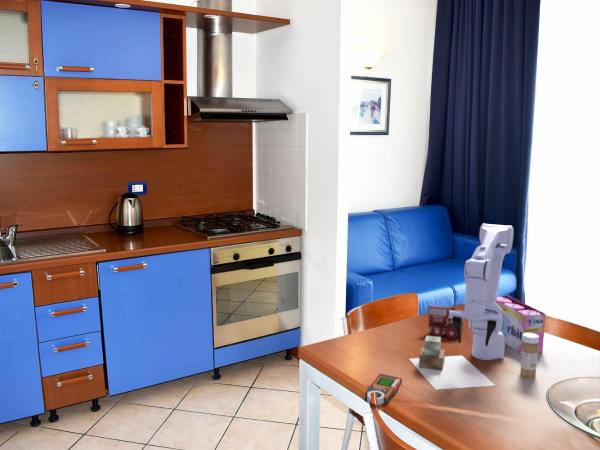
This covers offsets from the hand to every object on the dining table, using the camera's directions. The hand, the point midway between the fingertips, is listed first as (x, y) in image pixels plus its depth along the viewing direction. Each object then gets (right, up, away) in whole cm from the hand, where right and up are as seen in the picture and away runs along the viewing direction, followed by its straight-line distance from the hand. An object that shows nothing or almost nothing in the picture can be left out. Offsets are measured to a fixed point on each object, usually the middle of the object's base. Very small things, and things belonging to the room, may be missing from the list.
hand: (473, 343), depth 167 cm
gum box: (+23, -6, +29) cm, 38 cm away
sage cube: (-11, -4, +7) cm, 13 cm away
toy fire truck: (+1, -5, +36) cm, 36 cm away
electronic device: (-29, -13, -10) cm, 33 cm away
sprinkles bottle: (+16, -11, 0) cm, 19 cm away
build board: (-6, -10, +3) cm, 12 cm away
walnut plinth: (-11, -8, +7) cm, 15 cm away
